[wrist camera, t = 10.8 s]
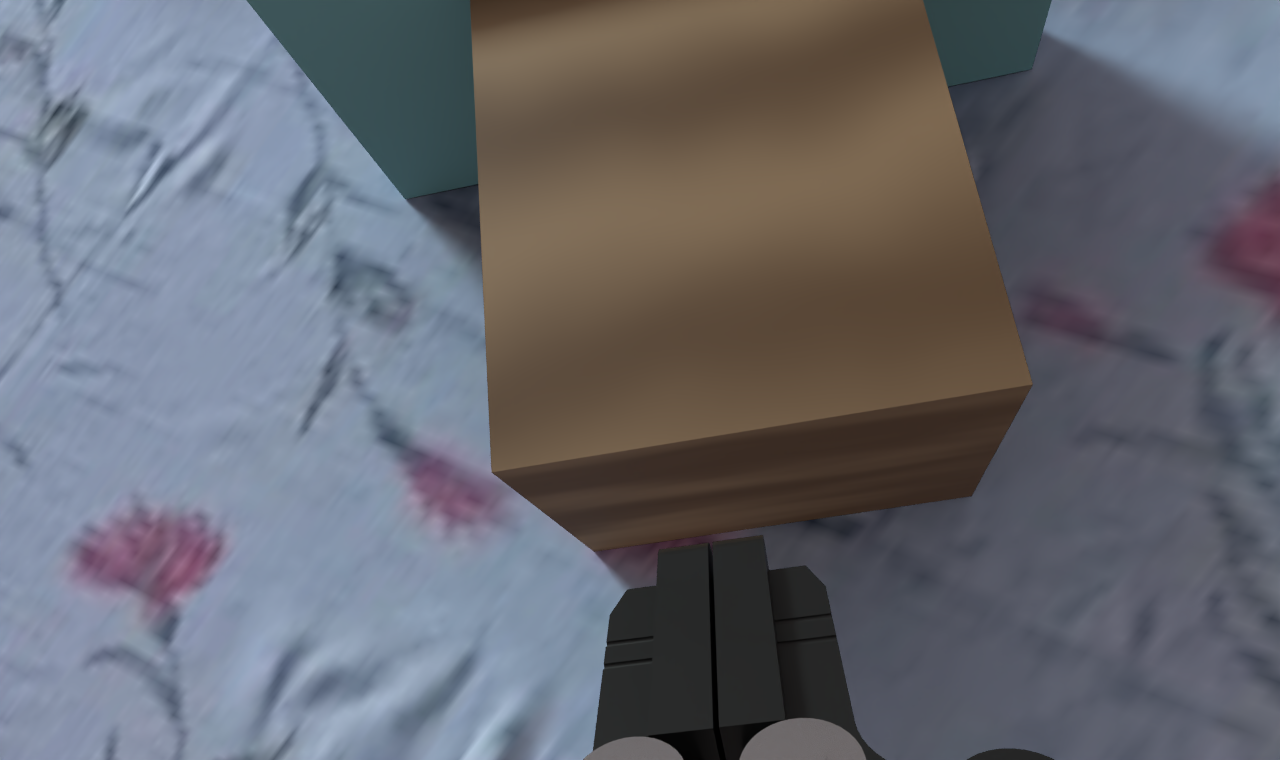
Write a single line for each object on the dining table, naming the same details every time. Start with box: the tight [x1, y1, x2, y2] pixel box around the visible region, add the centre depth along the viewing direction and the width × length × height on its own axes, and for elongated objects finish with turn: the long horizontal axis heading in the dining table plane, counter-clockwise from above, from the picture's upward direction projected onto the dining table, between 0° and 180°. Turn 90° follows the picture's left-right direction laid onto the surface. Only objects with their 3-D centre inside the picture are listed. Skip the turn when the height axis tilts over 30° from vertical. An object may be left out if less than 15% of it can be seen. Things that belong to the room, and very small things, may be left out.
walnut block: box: [470, 0, 1033, 552], centre depth 28 cm, size 15×12×10 cm
